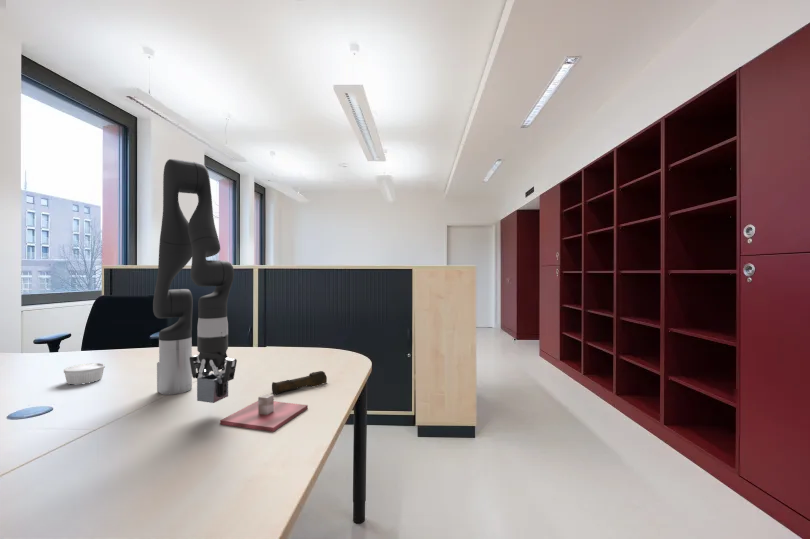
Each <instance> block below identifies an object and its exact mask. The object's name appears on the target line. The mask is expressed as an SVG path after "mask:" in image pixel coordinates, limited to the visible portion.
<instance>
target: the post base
mask: <svg viewBox="0 0 810 539" xmlns="http://www.w3.org/2000/svg"><path fill="white" fill-rule="evenodd" d="M274 395H275V394H273V393H271V394H269V393H263V394H262V395H260V396H258V398H257V399H258V400H257V401H254V402H253V403H251V404H249V405H247V406H245V407H244V408H241V409H239V410H237V411H236V412H233V413H231V414H230V415H228V416H226V417H223V418H222V419H220V420H219V425H223V426H230V427H237V428H243V429H251V430H252V429H253V430H259V431H266V432H272V433H274V432H275V431H276V430H278V429H279V428H281V427H283V426H284V425H286V424H287V423H289V422H291V420H293V419H294V418H296V417H298V416H299V415H301V413H303V412H305V411H307V410H308V409H309V408H308V406H309V405H308V404H301V403H291V402H283V401H275V398H274Z"/></svg>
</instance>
